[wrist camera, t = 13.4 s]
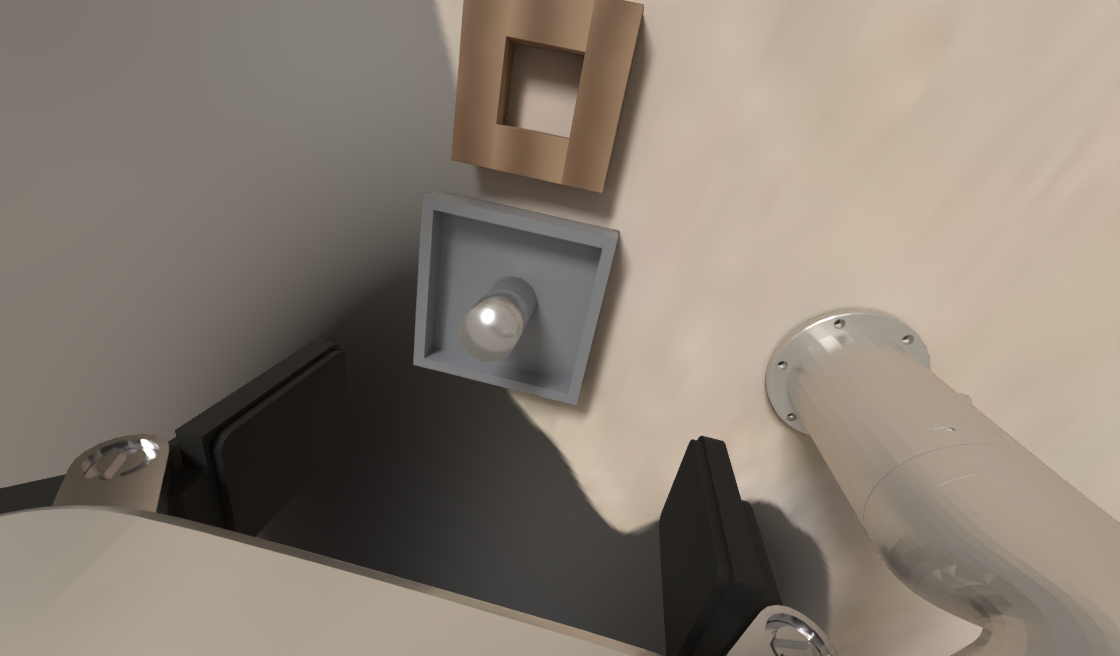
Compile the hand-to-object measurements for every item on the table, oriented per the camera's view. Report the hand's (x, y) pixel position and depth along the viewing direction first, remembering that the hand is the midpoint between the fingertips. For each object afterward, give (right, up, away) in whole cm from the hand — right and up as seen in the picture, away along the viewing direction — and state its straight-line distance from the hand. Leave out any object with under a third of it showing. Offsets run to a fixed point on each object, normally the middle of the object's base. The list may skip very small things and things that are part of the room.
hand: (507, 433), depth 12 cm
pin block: (0, +21, +22) cm, 30 cm away
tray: (-3, +6, +29) cm, 30 cm away
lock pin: (-3, +5, +29) cm, 29 cm away
